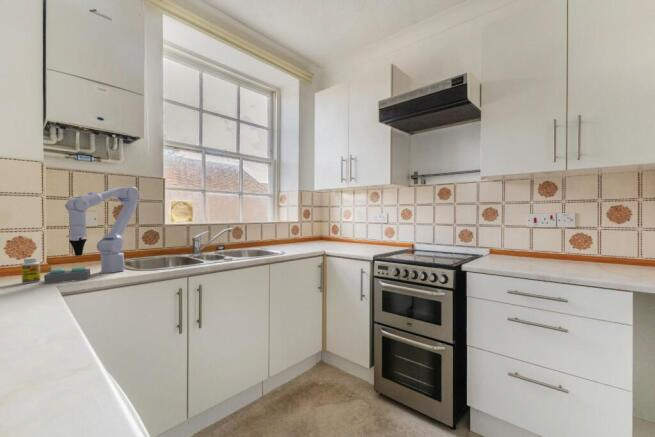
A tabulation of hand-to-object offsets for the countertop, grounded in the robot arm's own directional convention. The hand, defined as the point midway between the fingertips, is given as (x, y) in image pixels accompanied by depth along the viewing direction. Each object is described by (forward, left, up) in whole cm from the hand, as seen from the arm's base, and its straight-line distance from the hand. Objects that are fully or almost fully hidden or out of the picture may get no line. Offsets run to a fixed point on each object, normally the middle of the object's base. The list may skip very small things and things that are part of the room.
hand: (78, 255), depth 135 cm
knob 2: (0, +3, -10) cm, 10 cm away
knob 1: (+7, +3, -10) cm, 12 cm away
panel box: (+3, +3, -10) cm, 11 cm away
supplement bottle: (+16, 0, -10) cm, 19 cm away
